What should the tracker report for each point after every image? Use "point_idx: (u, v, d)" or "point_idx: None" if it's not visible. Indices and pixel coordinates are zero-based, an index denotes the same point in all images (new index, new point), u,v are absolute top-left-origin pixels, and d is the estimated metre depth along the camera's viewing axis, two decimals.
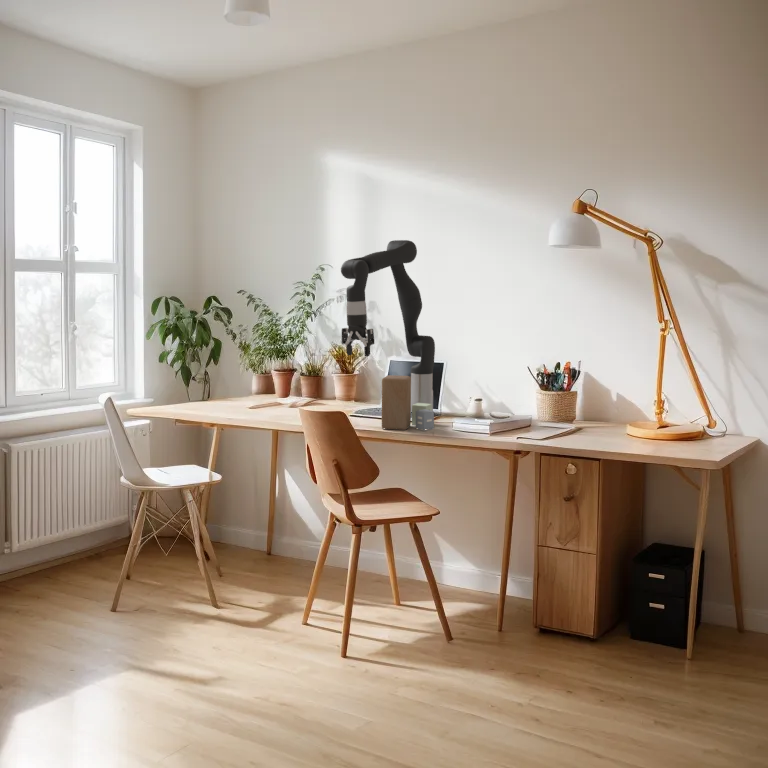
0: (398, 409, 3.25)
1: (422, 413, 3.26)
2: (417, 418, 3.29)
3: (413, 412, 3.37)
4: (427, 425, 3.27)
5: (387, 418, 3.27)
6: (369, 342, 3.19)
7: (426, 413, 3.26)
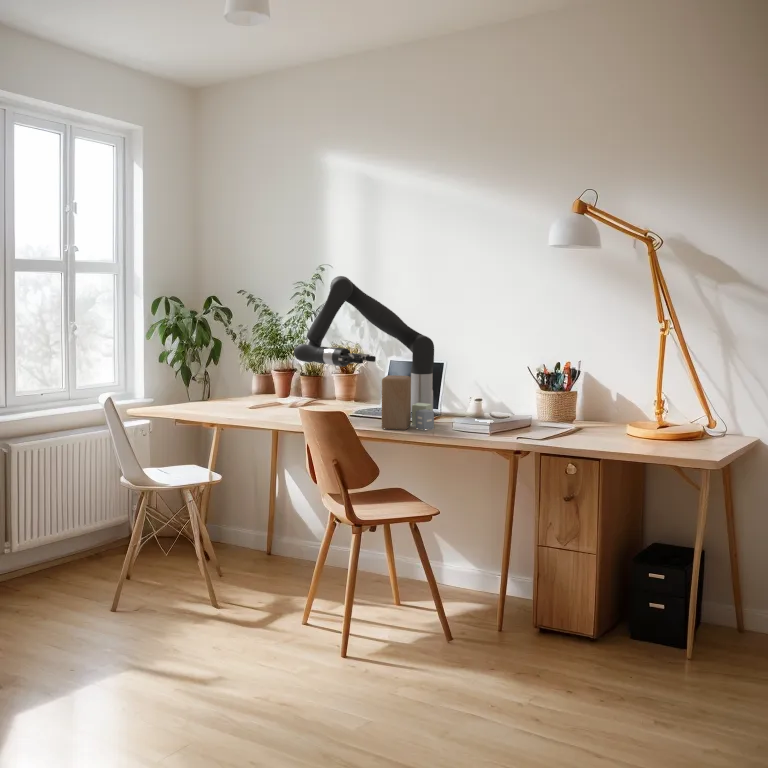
0: (398, 409, 3.25)
1: (422, 413, 3.26)
2: (417, 418, 3.29)
3: (413, 412, 3.37)
4: (427, 425, 3.27)
5: (387, 418, 3.27)
6: (347, 363, 3.37)
7: (426, 413, 3.26)
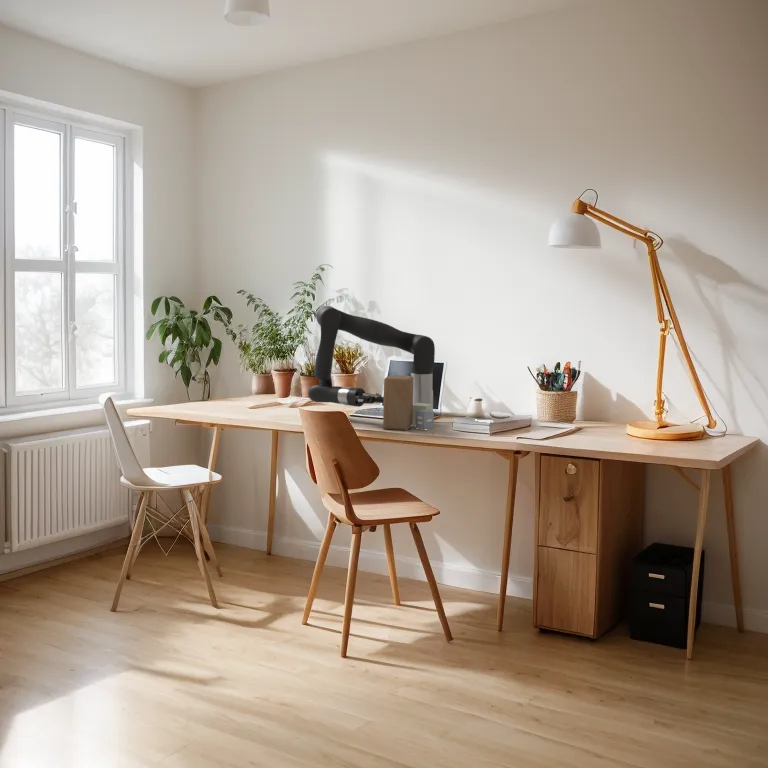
0: (399, 409, 3.25)
1: (422, 413, 3.26)
2: (417, 418, 3.29)
3: (413, 412, 3.37)
4: (427, 425, 3.27)
5: (388, 417, 3.26)
6: None
7: (426, 413, 3.26)
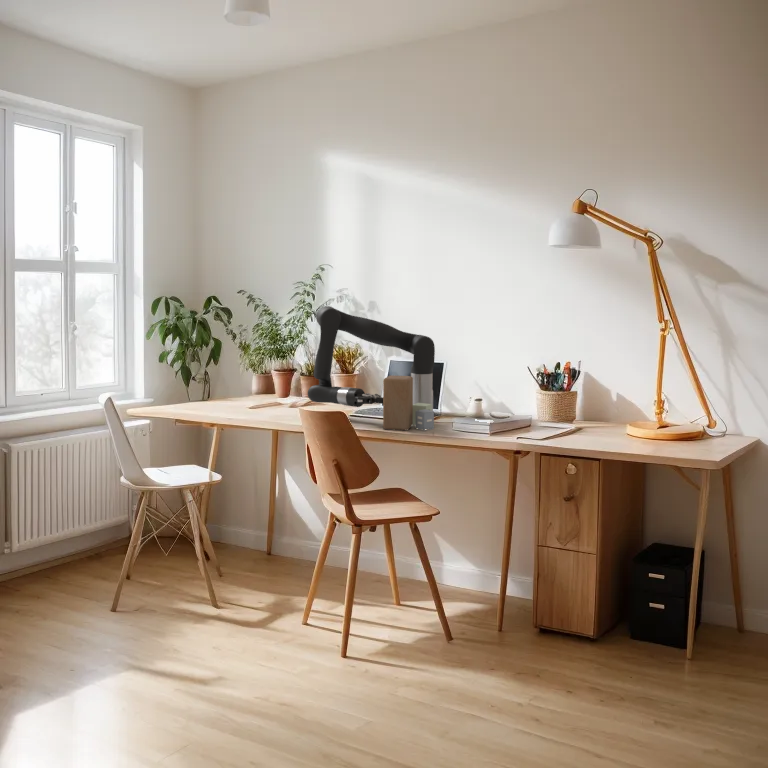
0: (399, 409, 3.25)
1: (422, 413, 3.26)
2: (417, 418, 3.29)
3: (413, 412, 3.37)
4: (427, 425, 3.27)
5: (388, 418, 3.26)
6: None
7: (426, 413, 3.26)
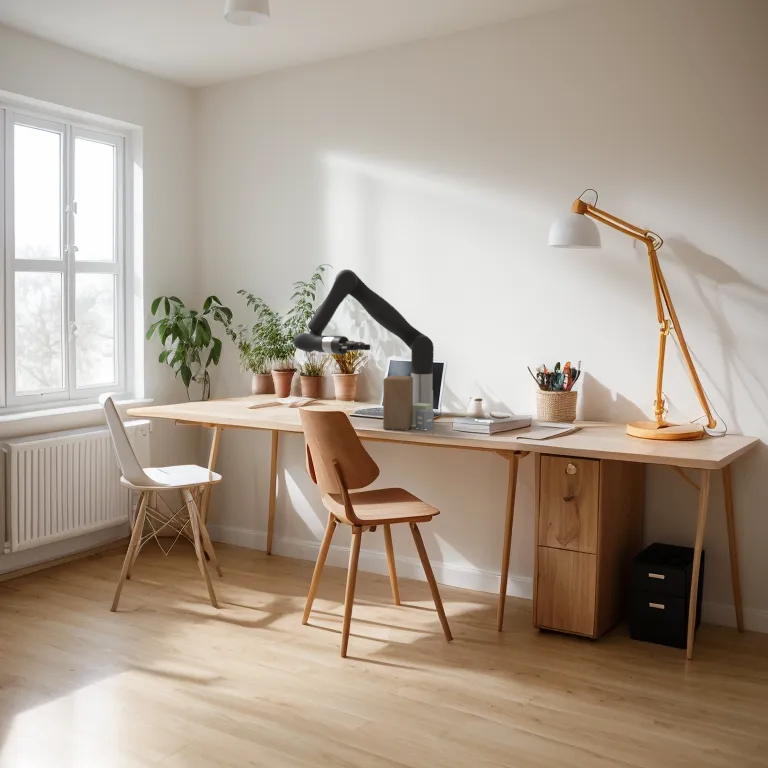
0: (399, 409, 3.25)
1: (422, 413, 3.26)
2: (417, 418, 3.29)
3: (413, 412, 3.37)
4: (427, 425, 3.27)
5: (388, 418, 3.26)
6: (354, 350, 3.42)
7: (426, 413, 3.26)
